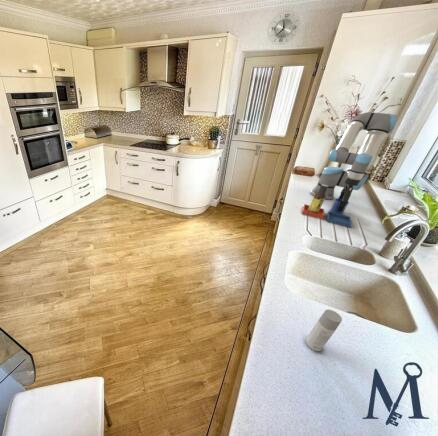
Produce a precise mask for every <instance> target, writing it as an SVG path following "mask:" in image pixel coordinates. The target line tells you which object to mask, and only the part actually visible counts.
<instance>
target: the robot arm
mask: <svg viewBox="0 0 438 436" xmlns="http://www.w3.org/2000/svg"><path fill="white" fill-rule="evenodd" d="M397 120H398V116H397V114H394V113H384V112H372V111H370V112H369V111H367V112H363V113H361V114H360V113H359V114H358V115H356V116H355V117H353V118H351V120H349V122H348V123H347V124H346V130H345V132H344V134H343V136H342V137H341V139H340V141H339V143H338V145H337V146H336V148H335V149H331V151H330V152H329V153H328V156H327V160H328V161H329V162H333V163H338V164H345V165H348V166H351V167H349V168H347V170H344V168H343V167H339V166H327V167H324V169H323V171H322V172H321V173H320V174H319V175H318V178H319V179H318V182H317V184H316V185H315V186H314V187H313V188H312V189H311V192H310V194H311V195H312V196H313V197H314V195H315V193H316V192H318V191H319V189H320V186H321V184H324V185H327V186H328V188H327V190H326V192H325V199H324V200H332V199H333V198H334V197H335V188H336V187H339V188H342V189H341V191H340V195H339V196H338V198H337V199H343V200H342V201H340V202H341V203H340V205H339V207H338V209H337V211H341V212H342V210H343V208H344V206H345V205H346V203H348V202H349V200H350V199H351V196H352V193H353V191H359V190H360V189H361V188H362V187H363V185H364V184H365V183H366V182H367V179H368V178H369V175H368V172H367V170H368V167H369V166H370V165H371V162H372V161H373V158H374V156H375V154H376V152H377V150H378V148H379V146H380V144H381V143H382V140H383V138H385V137H387V136H388V134H391V133H392V132H393V130H394V128H395V126H396V123H397ZM361 131H365V134H366V137H365V139H364V141H363V142H362V145H361V147H360V149H359V150H358V153H355V152H351V151H350V150H351V149H352V147H353V145H354V143H355V141H356V139H357V137H358V135H359V134H360V132H361ZM344 200H345V201H344Z"/></svg>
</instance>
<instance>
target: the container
mask: <svg viewBox="0 0 438 436" xmlns="http://www.w3.org/2000/svg"><path fill="white" fill-rule="evenodd" d="M342 322H343V318H342V316H341V315H340V314H339V313H338V312H336V310H335V311H334V310H333V309H325V310H324V311H323V313H322V314H321V315H320V317H319V318H318V320H317V321H316V323H314V325H313V328H312V329H311V331H310V332H309V334H308V335H307V337H306V338H305V345H306V346H307V347H308V348H309V349H310V350H312V351H313V352H317V353H318V352H321V351H322V350H323V348H324V347H325V346H326V344H327V343H328V341H329V340H330V339H331V337H332V336H333V335H334V333H335V332H336V330H337V329H338V327H339V326H340V324H341V323H342Z"/></svg>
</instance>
